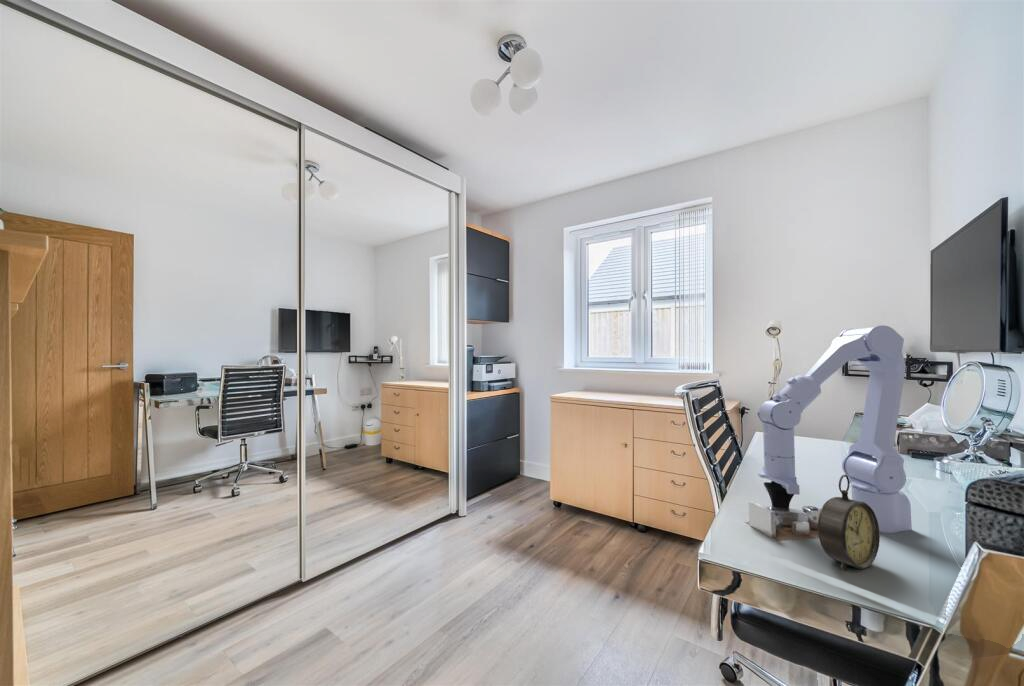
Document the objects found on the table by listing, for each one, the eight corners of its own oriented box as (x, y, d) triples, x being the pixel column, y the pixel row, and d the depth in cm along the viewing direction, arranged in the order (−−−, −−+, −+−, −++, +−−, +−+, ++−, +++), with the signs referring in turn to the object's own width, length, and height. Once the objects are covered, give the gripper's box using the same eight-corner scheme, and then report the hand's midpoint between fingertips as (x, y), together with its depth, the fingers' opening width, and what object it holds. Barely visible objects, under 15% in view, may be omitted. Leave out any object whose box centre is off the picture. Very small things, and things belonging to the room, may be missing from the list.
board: (813, 522, 88) (813, 518, 88) (853, 540, 79) (852, 535, 79) (744, 526, 86) (744, 521, 86) (777, 545, 77) (777, 540, 77)
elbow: (819, 524, 84) (818, 505, 84) (827, 531, 81) (826, 511, 81) (766, 518, 87) (765, 500, 87) (771, 525, 84) (771, 506, 84)
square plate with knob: (786, 522, 85) (786, 499, 86) (811, 534, 80) (810, 509, 80) (749, 524, 84) (748, 501, 85) (771, 537, 78) (770, 511, 79)
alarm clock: (848, 582, 64) (844, 482, 65) (811, 567, 69) (808, 473, 70) (883, 569, 68) (879, 475, 69) (847, 555, 73) (843, 467, 74)
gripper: (748, 447, 95) (749, 503, 94) (771, 461, 81) (772, 528, 80) (781, 449, 93) (783, 506, 92) (810, 464, 79) (812, 532, 78)
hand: (780, 517), depth 86 cm, fingers closed, pressing on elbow
